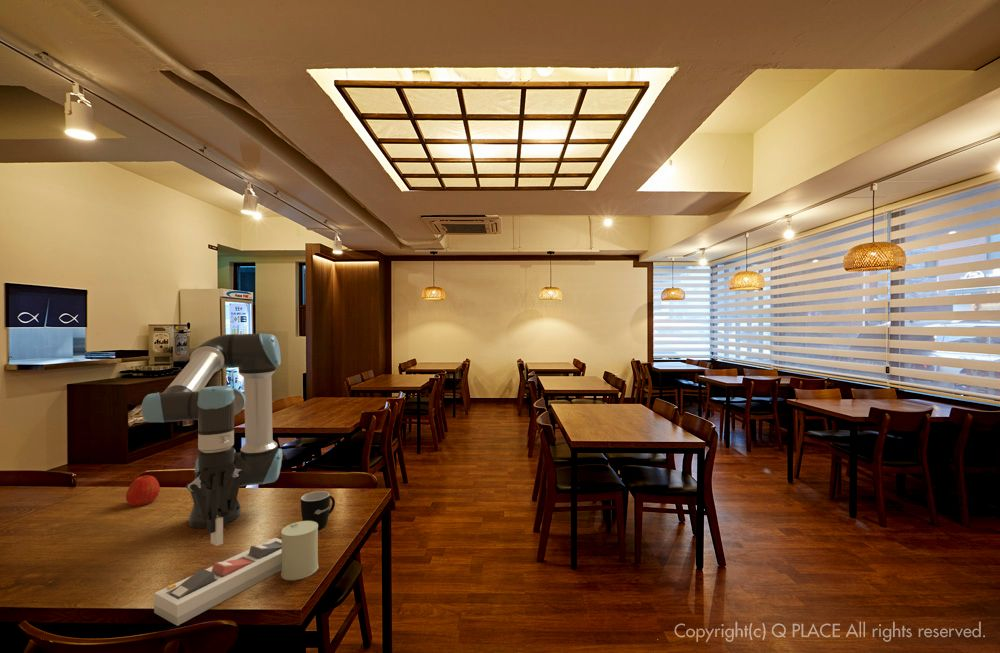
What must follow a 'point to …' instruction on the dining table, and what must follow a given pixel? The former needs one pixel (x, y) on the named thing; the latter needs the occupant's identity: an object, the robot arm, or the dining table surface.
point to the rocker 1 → (193, 583)
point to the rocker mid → (229, 566)
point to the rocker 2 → (264, 549)
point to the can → (299, 550)
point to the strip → (217, 587)
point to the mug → (316, 507)
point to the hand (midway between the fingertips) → (216, 543)
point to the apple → (142, 490)
